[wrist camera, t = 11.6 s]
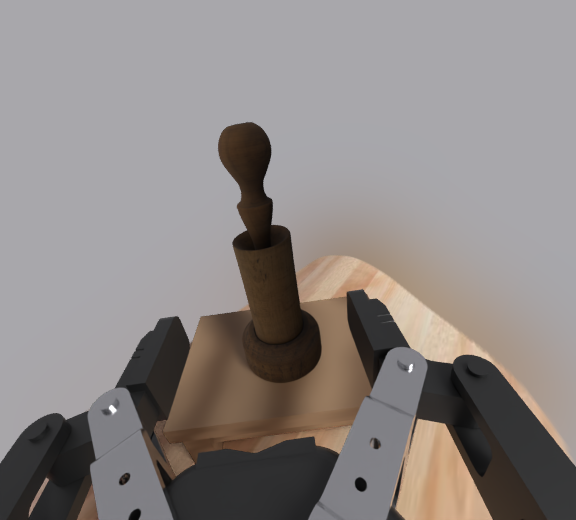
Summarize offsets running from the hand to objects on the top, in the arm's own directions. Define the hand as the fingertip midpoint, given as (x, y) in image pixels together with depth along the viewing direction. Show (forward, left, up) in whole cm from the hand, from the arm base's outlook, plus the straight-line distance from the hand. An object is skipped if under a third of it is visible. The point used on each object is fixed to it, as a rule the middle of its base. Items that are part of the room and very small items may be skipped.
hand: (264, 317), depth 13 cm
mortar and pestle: (0, +7, -10) cm, 12 cm away
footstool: (0, +7, -16) cm, 18 cm away
